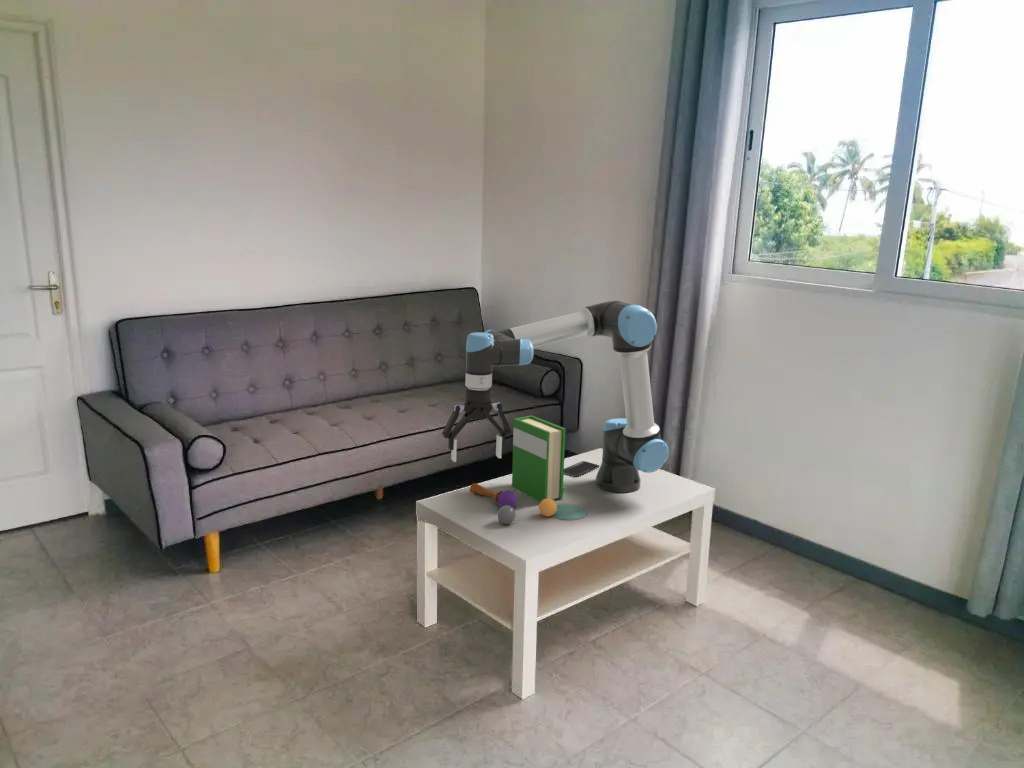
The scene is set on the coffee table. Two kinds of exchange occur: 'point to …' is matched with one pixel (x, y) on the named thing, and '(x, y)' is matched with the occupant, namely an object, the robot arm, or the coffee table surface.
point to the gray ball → (506, 514)
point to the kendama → (496, 495)
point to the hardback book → (538, 458)
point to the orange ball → (547, 507)
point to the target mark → (569, 512)
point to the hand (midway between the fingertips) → (476, 458)
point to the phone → (580, 469)
